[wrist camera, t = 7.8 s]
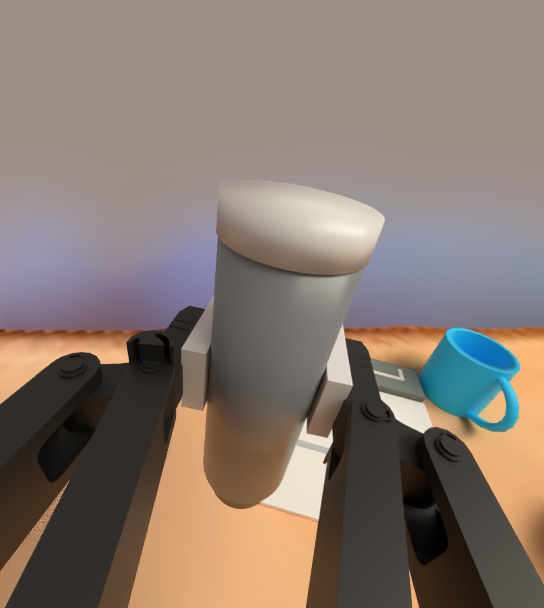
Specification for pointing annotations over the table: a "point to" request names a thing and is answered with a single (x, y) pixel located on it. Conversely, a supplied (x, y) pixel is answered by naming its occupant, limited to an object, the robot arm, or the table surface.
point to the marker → (275, 323)
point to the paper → (309, 463)
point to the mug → (471, 377)
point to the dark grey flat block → (397, 380)
